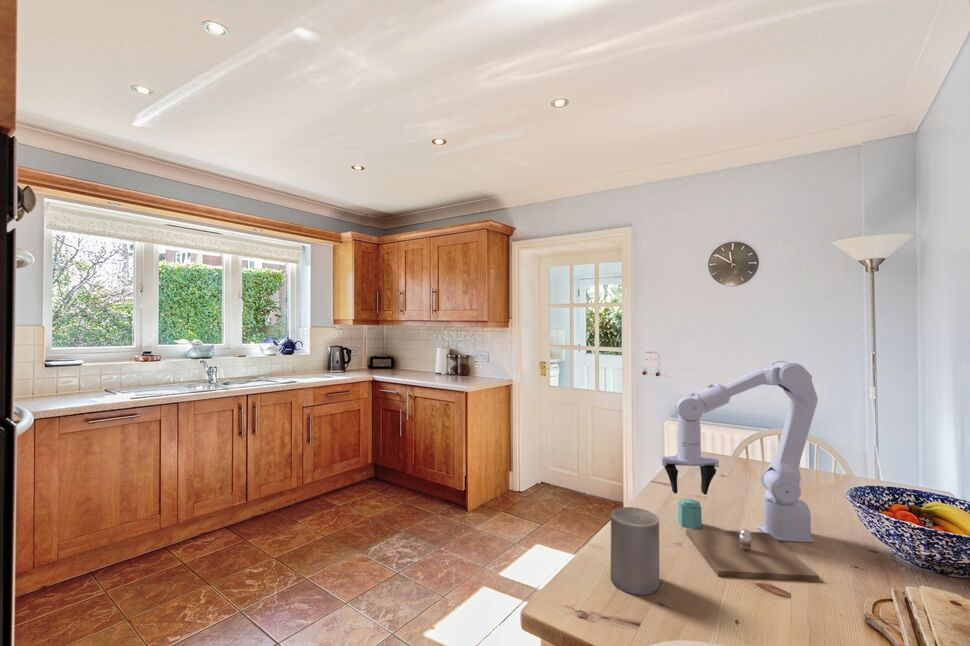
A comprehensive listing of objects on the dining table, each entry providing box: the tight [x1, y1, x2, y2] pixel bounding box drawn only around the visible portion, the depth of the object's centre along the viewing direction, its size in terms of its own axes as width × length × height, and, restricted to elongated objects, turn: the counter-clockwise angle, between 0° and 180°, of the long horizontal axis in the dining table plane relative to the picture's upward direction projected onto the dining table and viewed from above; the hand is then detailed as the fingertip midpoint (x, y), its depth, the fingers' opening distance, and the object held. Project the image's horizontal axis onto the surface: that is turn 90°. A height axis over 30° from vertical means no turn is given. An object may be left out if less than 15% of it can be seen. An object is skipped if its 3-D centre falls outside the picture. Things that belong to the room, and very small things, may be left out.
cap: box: [677, 498, 703, 530], centre depth 121 cm, size 5×6×6 cm
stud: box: [738, 528, 751, 550], centre depth 104 cm, size 2×2×5 cm
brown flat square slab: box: [685, 528, 820, 582], centre depth 104 cm, size 20×20×1 cm
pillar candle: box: [610, 506, 661, 596], centre depth 93 cm, size 10×10×15 cm
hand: (689, 492), depth 121 cm, fingers open, 7 cm apart
